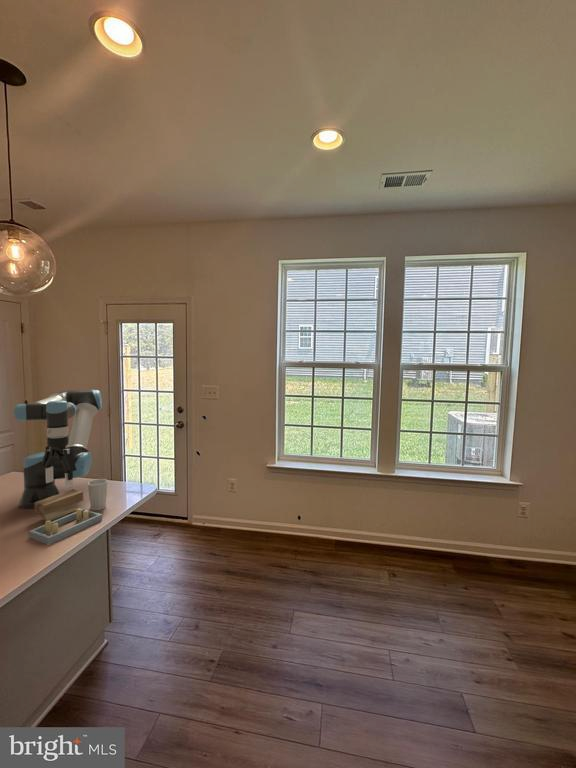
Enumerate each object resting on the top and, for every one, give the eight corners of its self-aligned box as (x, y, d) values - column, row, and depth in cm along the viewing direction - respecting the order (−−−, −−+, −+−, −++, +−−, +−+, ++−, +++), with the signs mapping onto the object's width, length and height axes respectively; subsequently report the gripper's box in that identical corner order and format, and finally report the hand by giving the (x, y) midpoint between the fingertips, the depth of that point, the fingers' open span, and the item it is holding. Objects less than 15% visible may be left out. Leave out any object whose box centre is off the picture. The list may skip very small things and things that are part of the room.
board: (34, 511, 136) (34, 502, 136) (73, 497, 151) (73, 489, 150) (44, 514, 133) (44, 505, 133) (83, 500, 148) (83, 491, 147)
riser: (42, 519, 137) (42, 510, 137) (71, 508, 148) (71, 499, 148) (48, 521, 136) (48, 512, 136) (76, 509, 147) (76, 501, 146)
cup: (93, 503, 153) (93, 478, 153) (111, 503, 154) (110, 478, 153) (84, 511, 145) (83, 485, 145) (103, 510, 146) (102, 484, 145)
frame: (29, 537, 123) (29, 524, 123) (83, 514, 143) (83, 503, 142) (48, 544, 118) (48, 531, 118) (102, 520, 138) (101, 508, 137)
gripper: (31, 435, 142) (32, 482, 143) (67, 441, 131) (68, 492, 133) (49, 432, 148) (51, 477, 150) (85, 437, 138) (86, 486, 139)
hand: (59, 484), depth 141 cm, fingers open, 13 cm apart
